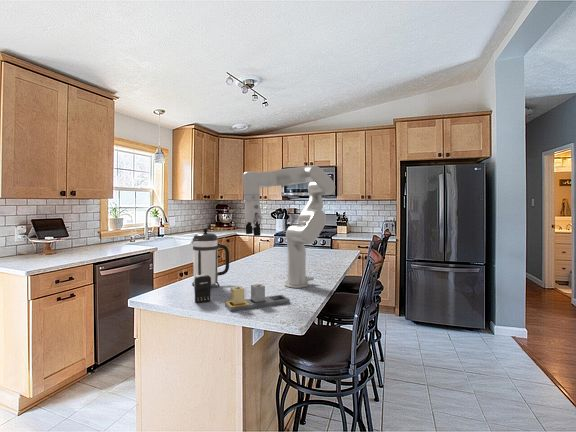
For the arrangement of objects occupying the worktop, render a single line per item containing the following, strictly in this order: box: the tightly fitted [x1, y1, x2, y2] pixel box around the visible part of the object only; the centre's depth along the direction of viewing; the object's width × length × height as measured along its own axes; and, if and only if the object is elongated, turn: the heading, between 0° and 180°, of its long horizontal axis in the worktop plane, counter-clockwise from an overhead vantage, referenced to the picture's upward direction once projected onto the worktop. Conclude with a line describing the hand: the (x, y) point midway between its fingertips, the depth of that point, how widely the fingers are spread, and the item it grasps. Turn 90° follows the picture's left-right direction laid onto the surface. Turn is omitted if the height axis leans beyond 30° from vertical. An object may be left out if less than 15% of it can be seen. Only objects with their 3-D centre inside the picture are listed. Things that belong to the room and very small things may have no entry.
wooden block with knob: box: [229, 286, 245, 306], centre depth 131 cm, size 4×4×8 cm
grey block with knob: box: [250, 283, 266, 303], centre depth 135 cm, size 4×4×8 cm
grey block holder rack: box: [224, 294, 291, 312], centre depth 135 cm, size 26×8×2 cm, turn 116°
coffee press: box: [189, 227, 230, 288], centre depth 166 cm, size 17×16×30 cm
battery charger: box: [193, 275, 212, 303], centre depth 139 cm, size 7×4×11 cm, turn 117°
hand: (253, 234), depth 151 cm, fingers open, 9 cm apart
